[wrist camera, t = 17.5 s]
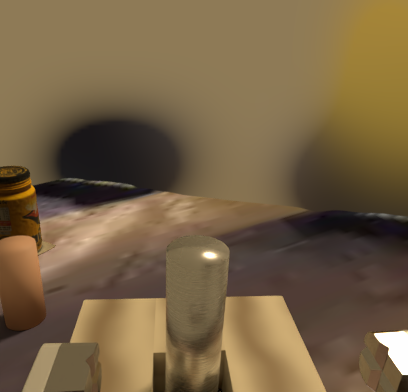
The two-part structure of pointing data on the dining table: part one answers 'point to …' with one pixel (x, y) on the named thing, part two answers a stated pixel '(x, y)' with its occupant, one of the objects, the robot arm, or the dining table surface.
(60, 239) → the dining table surface
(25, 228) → the condiment
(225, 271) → the tall metal pin
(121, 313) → the hole block
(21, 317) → the short terracotta pin
